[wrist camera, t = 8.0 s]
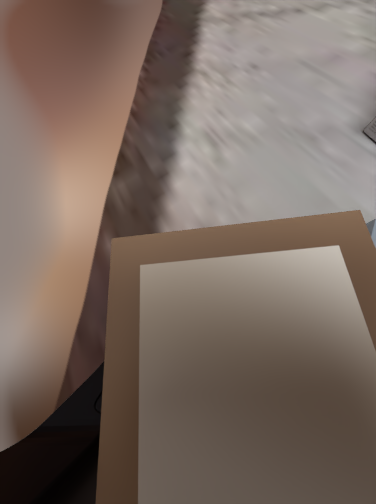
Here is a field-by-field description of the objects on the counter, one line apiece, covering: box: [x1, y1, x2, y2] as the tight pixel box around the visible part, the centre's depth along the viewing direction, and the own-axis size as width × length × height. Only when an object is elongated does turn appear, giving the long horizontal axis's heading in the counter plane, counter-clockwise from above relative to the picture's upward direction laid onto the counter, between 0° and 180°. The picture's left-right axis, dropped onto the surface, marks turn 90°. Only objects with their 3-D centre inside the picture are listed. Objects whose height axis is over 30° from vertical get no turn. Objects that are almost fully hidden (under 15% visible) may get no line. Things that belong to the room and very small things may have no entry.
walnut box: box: [96, 210, 376, 504], centre depth 9 cm, size 5×5×12 cm
